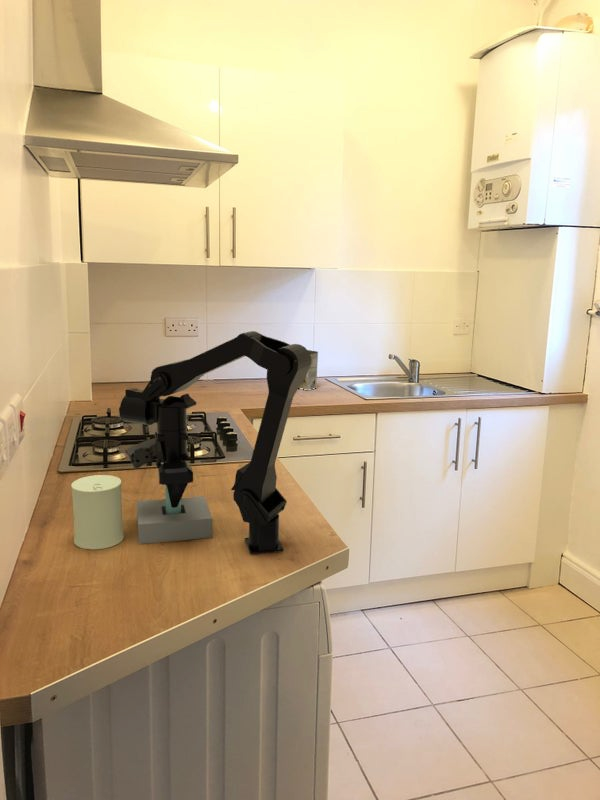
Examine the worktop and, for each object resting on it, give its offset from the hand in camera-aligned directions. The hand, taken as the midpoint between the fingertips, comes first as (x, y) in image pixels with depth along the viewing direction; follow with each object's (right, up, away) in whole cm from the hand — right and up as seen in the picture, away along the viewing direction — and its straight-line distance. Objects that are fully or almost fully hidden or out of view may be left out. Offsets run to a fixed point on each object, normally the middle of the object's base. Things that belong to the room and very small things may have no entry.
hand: (173, 502), depth 129 cm
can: (-13, -7, -4) cm, 16 cm away
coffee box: (+27, +25, +141) cm, 146 cm away
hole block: (0, -5, +1) cm, 6 cm away
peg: (0, -5, +1) cm, 6 cm away
